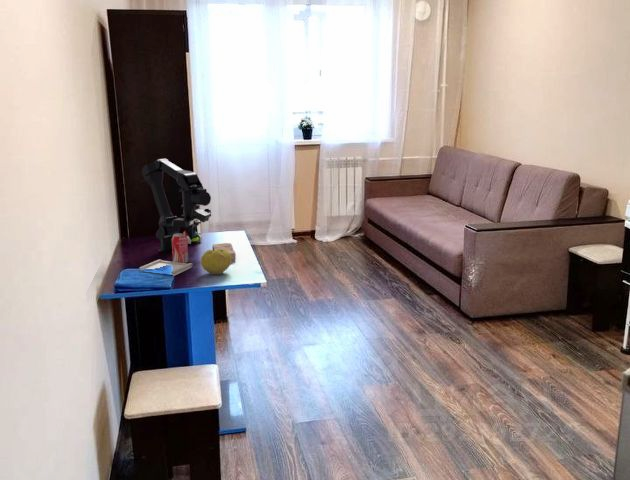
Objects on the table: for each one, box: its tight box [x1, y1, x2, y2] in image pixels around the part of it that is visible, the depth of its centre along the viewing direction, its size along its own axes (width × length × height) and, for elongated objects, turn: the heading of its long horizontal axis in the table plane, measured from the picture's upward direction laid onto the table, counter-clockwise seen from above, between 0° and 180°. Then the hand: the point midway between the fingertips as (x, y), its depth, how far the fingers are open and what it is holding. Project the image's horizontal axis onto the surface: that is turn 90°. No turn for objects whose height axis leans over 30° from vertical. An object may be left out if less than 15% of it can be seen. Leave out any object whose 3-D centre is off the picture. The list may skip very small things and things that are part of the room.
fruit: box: [200, 249, 232, 276], centre depth 230 cm, size 11×12×10 cm
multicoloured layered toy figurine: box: [183, 230, 203, 245], centre depth 279 cm, size 8×10×7 cm
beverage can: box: [172, 232, 189, 264], centre depth 245 cm, size 6×6×12 cm
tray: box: [138, 259, 194, 277], centre depth 237 cm, size 16×13×2 cm
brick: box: [212, 242, 237, 263], centre depth 254 cm, size 17×8×5 cm, turn 15°
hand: (191, 239), depth 253 cm, fingers closed
